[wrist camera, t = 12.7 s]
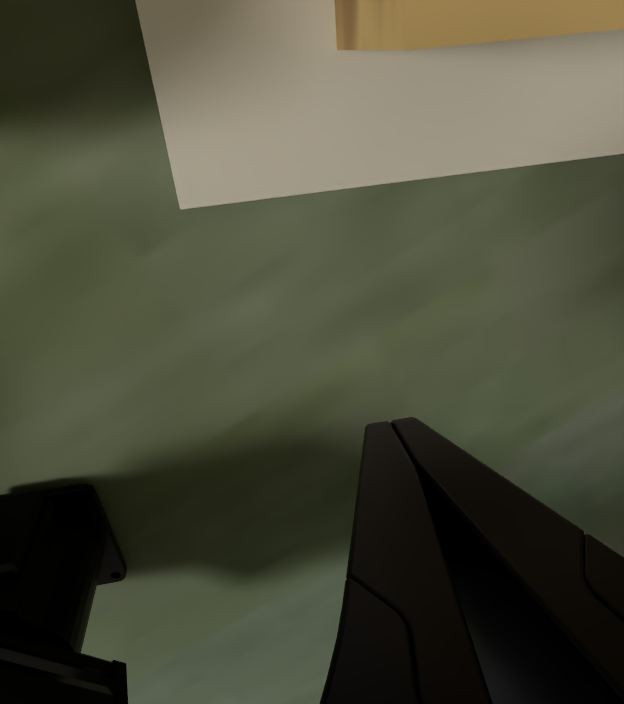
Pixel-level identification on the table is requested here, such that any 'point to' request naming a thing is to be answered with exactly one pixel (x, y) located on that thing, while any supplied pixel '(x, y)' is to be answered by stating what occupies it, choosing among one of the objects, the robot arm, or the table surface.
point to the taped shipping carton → (466, 21)
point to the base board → (363, 101)
